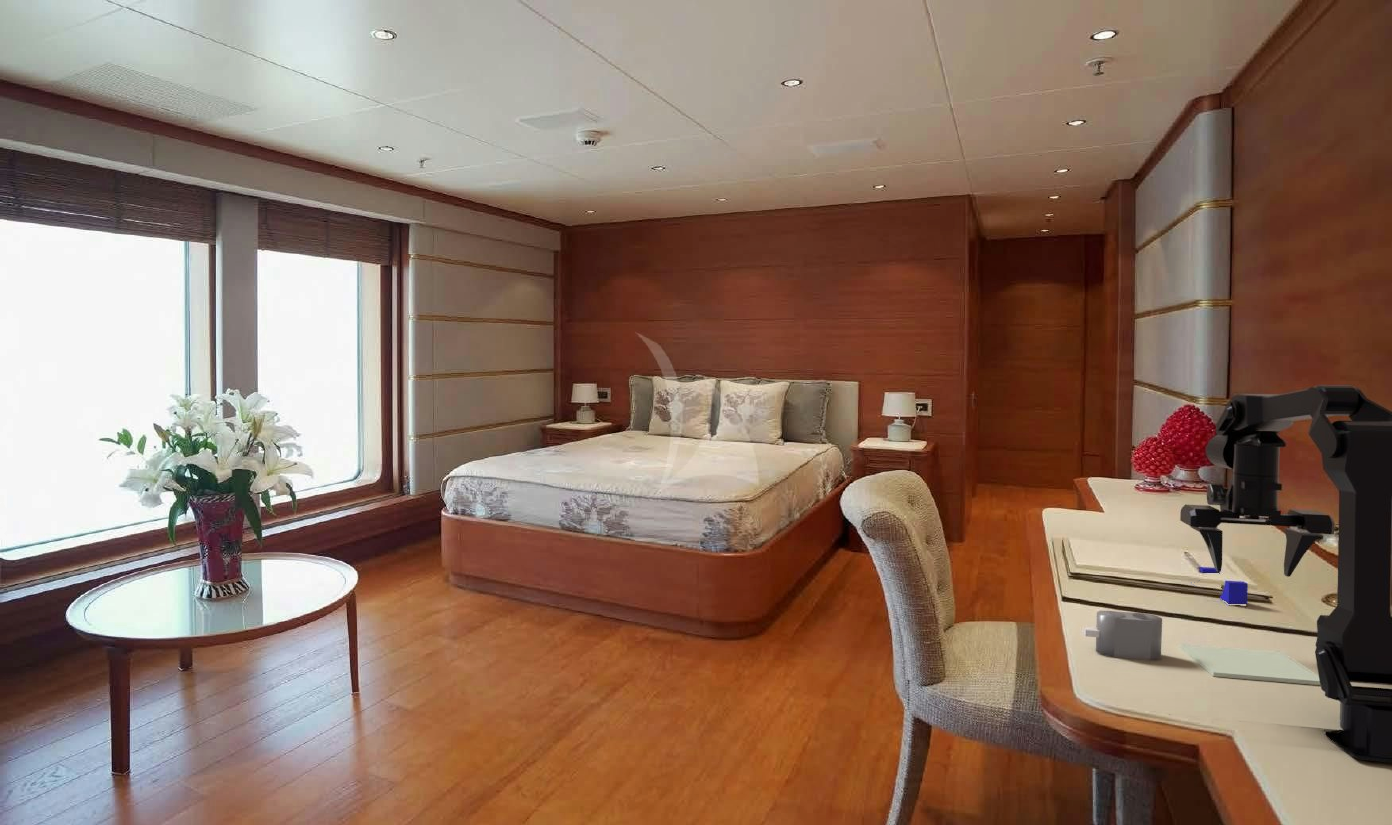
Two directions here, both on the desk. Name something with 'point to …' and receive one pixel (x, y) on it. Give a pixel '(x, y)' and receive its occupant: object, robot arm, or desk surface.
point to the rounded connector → (1127, 635)
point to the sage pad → (1250, 664)
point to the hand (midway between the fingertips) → (1252, 573)
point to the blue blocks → (1231, 589)
